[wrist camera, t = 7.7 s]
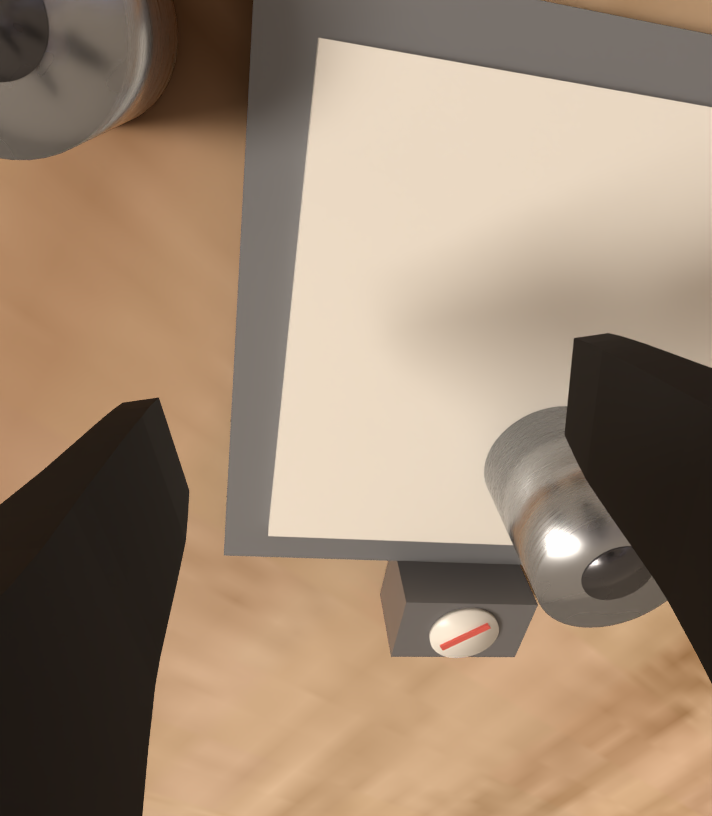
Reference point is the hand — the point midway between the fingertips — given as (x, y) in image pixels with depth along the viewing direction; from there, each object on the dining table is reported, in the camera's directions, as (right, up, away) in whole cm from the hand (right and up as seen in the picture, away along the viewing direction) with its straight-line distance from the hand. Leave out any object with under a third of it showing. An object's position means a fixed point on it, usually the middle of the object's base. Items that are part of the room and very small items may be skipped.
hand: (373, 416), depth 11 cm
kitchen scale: (+5, +1, +10) cm, 11 cm away
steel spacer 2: (+6, -2, +10) cm, 12 cm away
